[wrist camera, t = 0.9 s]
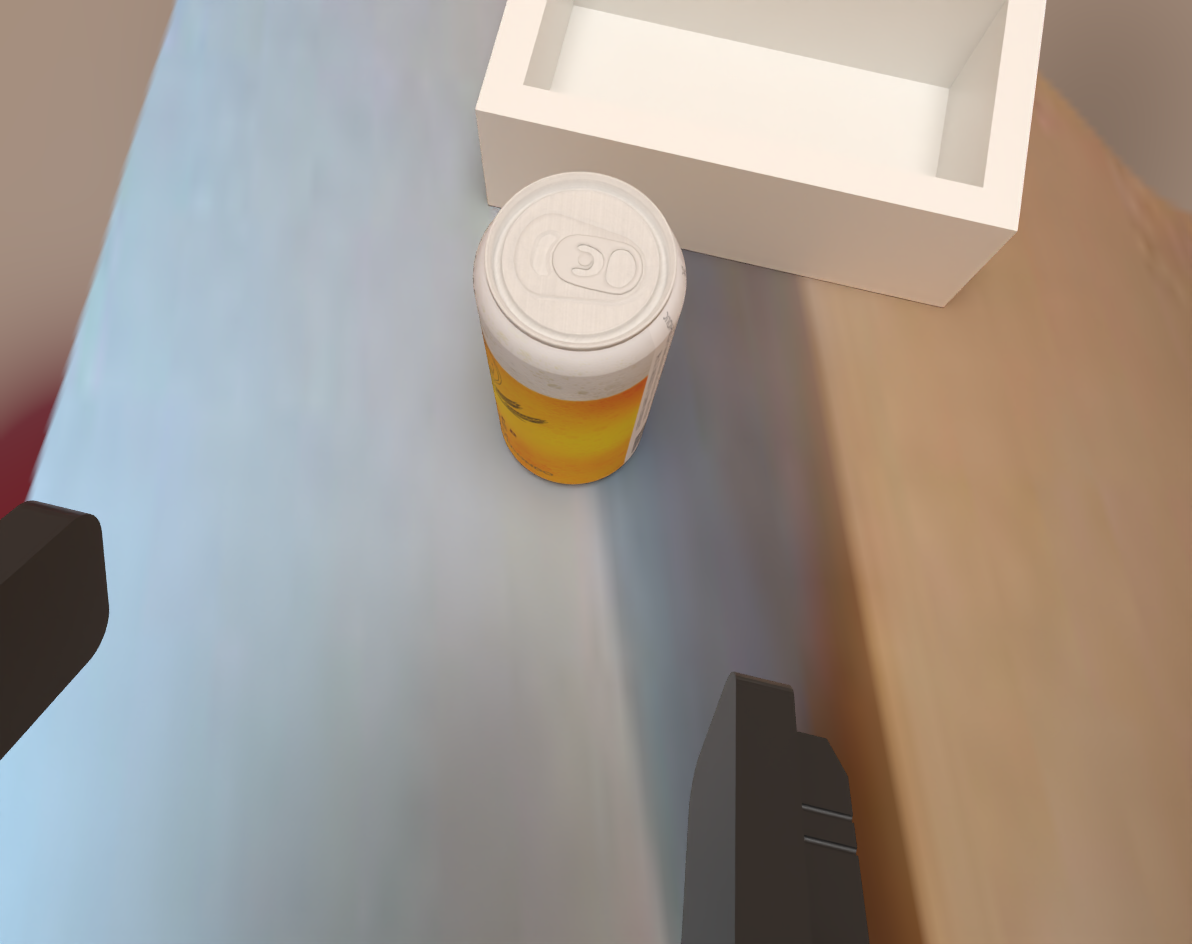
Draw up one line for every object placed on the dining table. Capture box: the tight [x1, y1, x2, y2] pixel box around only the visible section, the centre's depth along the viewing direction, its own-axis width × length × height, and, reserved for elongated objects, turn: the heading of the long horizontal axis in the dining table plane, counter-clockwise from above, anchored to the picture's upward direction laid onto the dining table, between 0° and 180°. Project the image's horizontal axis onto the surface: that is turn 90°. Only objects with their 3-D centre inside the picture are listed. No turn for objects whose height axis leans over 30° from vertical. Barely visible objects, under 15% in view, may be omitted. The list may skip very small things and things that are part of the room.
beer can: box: [473, 172, 686, 484], centre depth 33 cm, size 6×6×15 cm
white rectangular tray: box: [475, 0, 1046, 308], centre depth 40 cm, size 21×12×7 cm, turn 77°
